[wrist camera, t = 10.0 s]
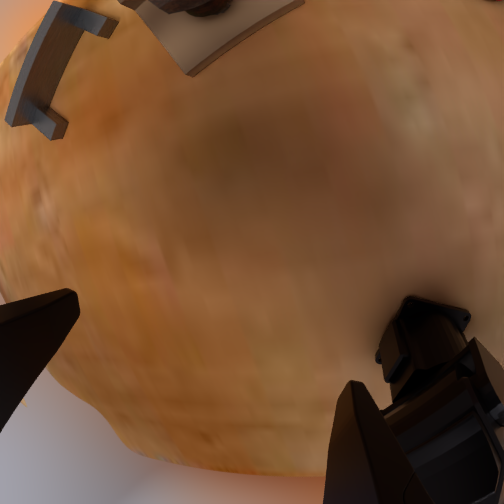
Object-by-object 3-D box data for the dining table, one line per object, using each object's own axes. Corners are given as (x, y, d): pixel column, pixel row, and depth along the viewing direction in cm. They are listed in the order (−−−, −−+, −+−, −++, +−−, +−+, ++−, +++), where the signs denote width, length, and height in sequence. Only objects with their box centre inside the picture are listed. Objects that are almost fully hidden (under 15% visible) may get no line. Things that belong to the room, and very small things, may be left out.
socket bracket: (118, 21, 16) (85, 10, 13) (62, 138, 21) (28, 144, 18) (84, 9, 16) (53, 0, 12) (35, 115, 21) (4, 120, 17)
